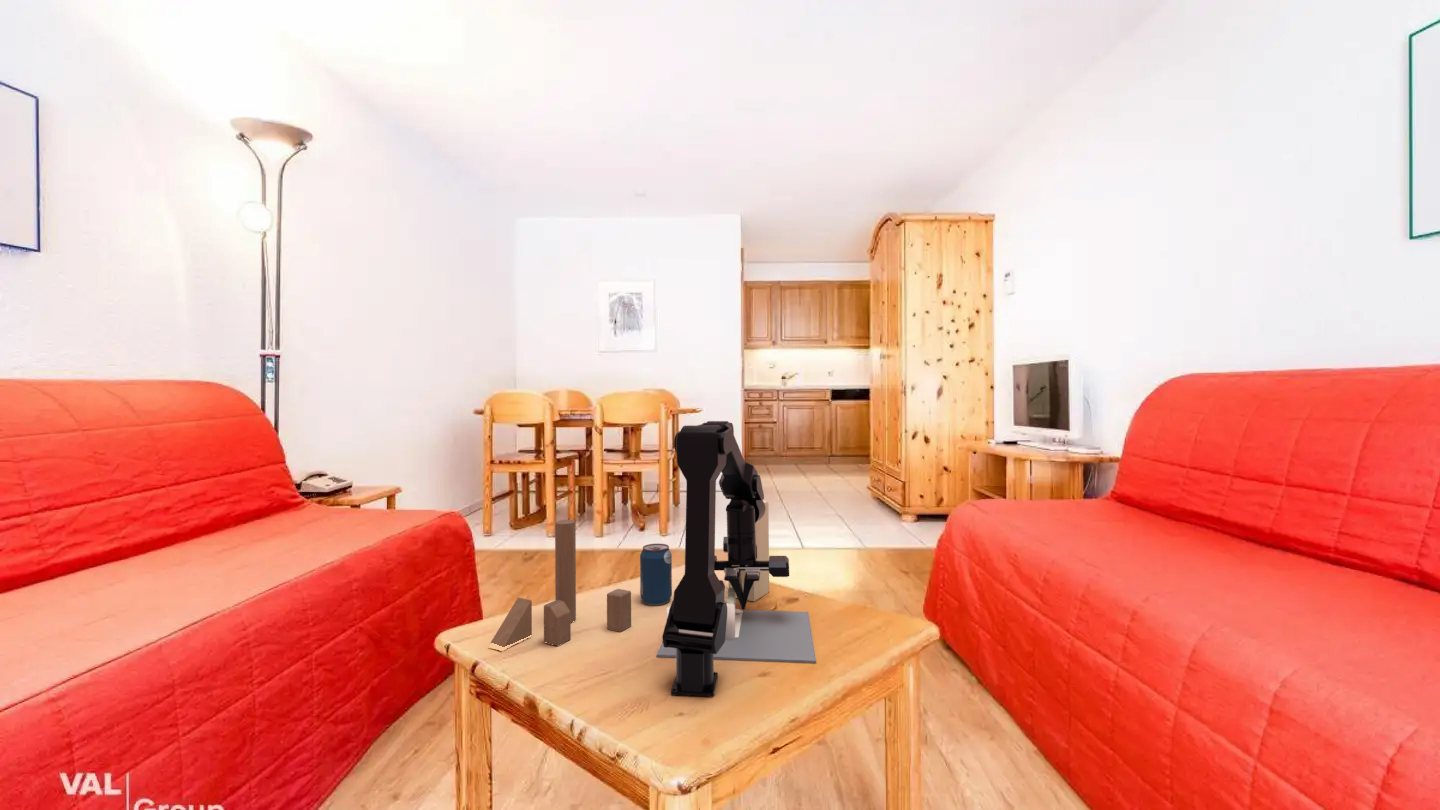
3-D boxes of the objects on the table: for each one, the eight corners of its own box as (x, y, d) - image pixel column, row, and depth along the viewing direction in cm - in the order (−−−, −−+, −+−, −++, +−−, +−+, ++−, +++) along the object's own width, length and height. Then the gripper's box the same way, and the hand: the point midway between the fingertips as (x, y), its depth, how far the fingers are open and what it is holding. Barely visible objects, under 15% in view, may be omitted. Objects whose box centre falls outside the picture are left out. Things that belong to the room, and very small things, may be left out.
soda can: (678, 600, 121) (678, 546, 121) (654, 609, 116) (654, 552, 116) (657, 593, 126) (656, 541, 126) (633, 601, 121) (633, 547, 121)
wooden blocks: (487, 648, 97) (487, 536, 98) (566, 611, 115) (566, 516, 115) (558, 669, 90) (558, 546, 90) (632, 626, 107) (631, 524, 107)
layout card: (816, 663, 91) (815, 624, 91) (656, 657, 93) (656, 619, 94) (808, 613, 113) (807, 582, 113) (679, 609, 115) (678, 579, 115)
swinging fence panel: (735, 608, 113) (735, 586, 113) (734, 631, 101) (734, 607, 102) (727, 608, 113) (727, 586, 113) (726, 631, 102) (725, 607, 102)
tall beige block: (742, 586, 130) (741, 498, 130) (769, 591, 126) (769, 500, 127) (725, 596, 123) (724, 503, 123) (754, 602, 120) (753, 506, 120)
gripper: (787, 522, 117) (789, 595, 117) (701, 523, 119) (703, 595, 119) (788, 534, 106) (790, 615, 106) (692, 534, 108) (695, 613, 108)
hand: (743, 608), depth 110 cm, fingers closed
